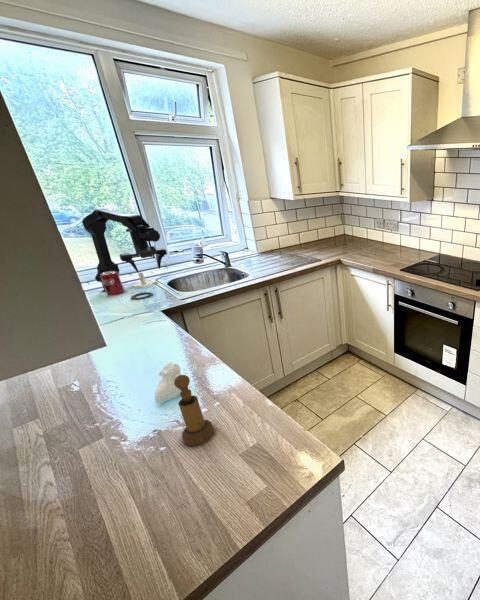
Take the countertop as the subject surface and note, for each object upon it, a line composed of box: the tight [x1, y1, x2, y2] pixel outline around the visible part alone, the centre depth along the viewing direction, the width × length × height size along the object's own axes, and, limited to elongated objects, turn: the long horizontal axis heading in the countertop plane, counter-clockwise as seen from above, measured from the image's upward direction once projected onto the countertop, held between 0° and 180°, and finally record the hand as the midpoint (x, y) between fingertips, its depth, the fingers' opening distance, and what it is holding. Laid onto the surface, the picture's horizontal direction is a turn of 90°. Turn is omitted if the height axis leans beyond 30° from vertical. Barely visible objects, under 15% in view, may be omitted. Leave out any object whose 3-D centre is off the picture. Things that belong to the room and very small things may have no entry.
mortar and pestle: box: [174, 374, 214, 447], centre depth 79 cm, size 7×6×18 cm
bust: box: [154, 361, 182, 405], centre depth 96 cm, size 12×8×11 cm
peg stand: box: [129, 271, 158, 288], centre depth 185 cm, size 9×9×8 cm
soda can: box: [100, 271, 126, 296], centre depth 172 cm, size 7×7×12 cm
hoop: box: [130, 291, 154, 301], centre depth 169 cm, size 9×9×2 cm
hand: (148, 270), depth 169 cm, fingers open, 9 cm apart
